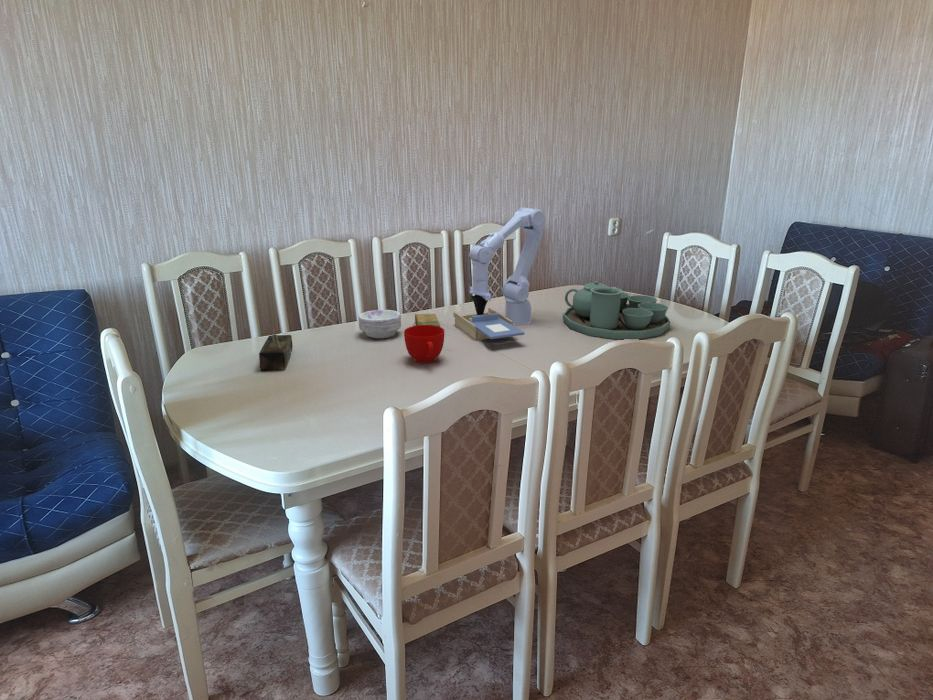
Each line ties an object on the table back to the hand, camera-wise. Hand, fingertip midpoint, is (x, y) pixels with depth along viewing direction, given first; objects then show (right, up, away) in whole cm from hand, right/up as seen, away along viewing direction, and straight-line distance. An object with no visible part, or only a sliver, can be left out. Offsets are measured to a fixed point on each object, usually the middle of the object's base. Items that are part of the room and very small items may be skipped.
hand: (480, 314), depth 223 cm
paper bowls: (-37, -8, -4) cm, 38 cm away
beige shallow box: (+1, -6, 0) cm, 6 cm away
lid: (+5, -6, -11) cm, 13 cm away
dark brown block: (-66, -17, -29) cm, 74 cm away
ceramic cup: (-18, -17, -30) cm, 39 cm away
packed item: (-1, -4, +4) cm, 6 cm away
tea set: (+53, -3, +10) cm, 54 cm away
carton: (-20, -6, +3) cm, 21 cm away
